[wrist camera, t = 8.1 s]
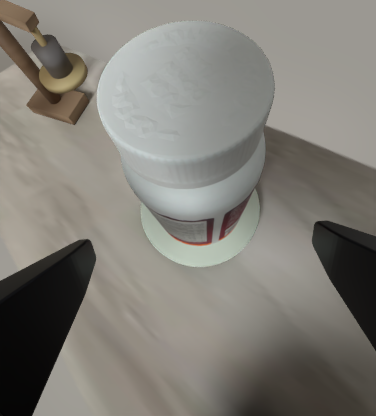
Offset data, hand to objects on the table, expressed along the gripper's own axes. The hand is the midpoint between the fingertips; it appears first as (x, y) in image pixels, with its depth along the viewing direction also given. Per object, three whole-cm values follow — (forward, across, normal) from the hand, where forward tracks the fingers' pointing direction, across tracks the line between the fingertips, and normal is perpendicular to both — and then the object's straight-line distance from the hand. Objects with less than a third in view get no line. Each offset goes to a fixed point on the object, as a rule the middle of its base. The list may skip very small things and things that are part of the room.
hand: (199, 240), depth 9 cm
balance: (+17, +13, -6) cm, 22 cm away
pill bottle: (+8, 0, +2) cm, 8 cm away
